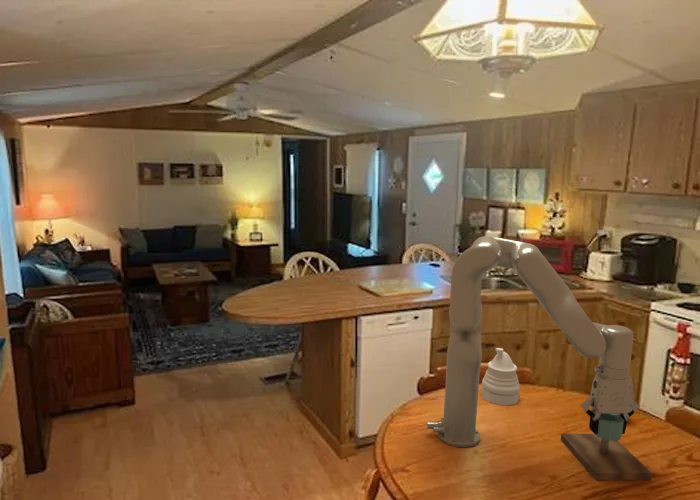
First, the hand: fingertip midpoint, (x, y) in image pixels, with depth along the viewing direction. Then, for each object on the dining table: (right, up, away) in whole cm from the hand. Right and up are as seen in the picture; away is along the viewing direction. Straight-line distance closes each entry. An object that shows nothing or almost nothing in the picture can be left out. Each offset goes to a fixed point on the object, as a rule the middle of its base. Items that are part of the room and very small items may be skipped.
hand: (607, 431), depth 144 cm
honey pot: (-19, -2, +39) cm, 43 cm away
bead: (0, -1, 0) cm, 1 cm away
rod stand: (0, -8, +1) cm, 8 cm away
